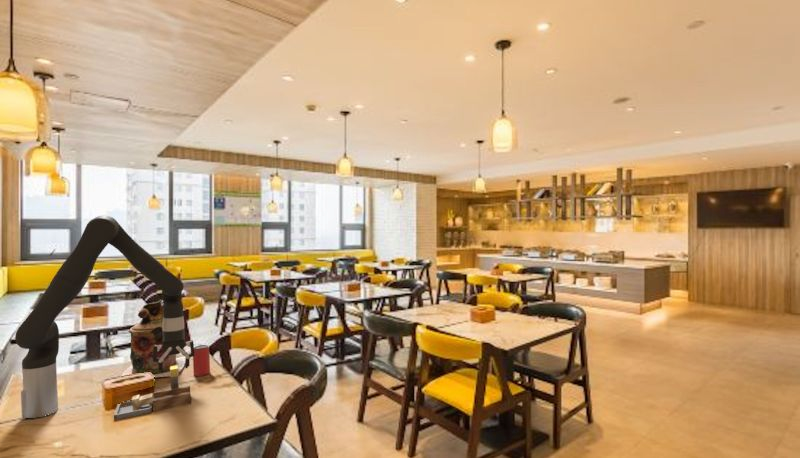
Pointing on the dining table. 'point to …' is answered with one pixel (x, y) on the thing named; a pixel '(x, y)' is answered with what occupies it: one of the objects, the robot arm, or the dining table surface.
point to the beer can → (201, 360)
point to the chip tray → (131, 410)
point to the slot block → (171, 398)
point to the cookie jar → (150, 344)
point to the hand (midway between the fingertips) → (174, 369)
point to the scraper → (174, 377)
